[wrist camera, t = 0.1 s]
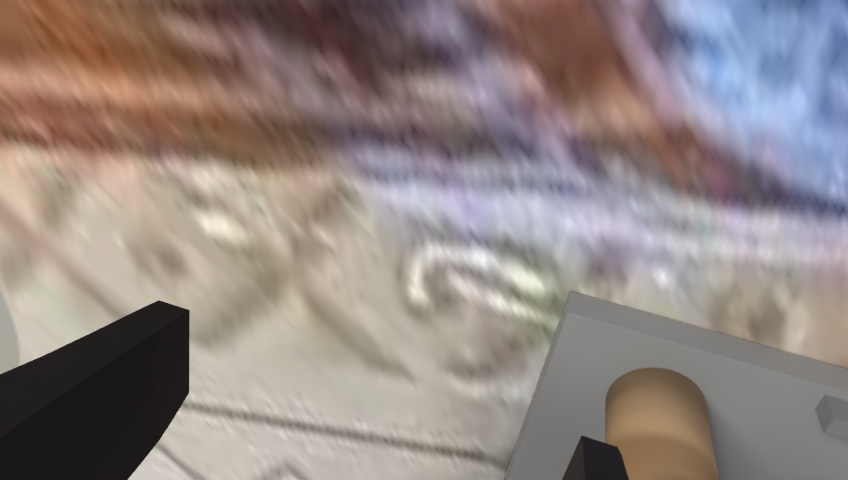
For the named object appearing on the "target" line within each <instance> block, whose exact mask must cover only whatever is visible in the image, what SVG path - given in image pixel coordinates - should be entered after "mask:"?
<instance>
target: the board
mask: <svg viewBox="0 0 848 480" xmlns="http://www.w3.org/2000/svg"><path fill="white" fill-rule="evenodd" d="M651 367H654V368H665V369H669V370H673V371H676V372H678V373H681V374H683V375H685V376H686V377H688V378H689V379H691V380H692V381H693V382H694V383H695V384H696V385H697V386H698V387H699V388H700V390H701V391H702V393H703V395H704V398H705V402H706V408H707V414H708V419H709V425H710V431H711V437H712V442H713V448H714V454H715V459H716V465H717V471H718V477H719V480H848V369H845V368H842V367H838V366H835V365H831V364H828V363H824V362H821V361H817V360H814V359H810V358H806V357H803V356H799V355H796V354H792V353H789V352H785V351H782V350H778V349H775V348H771V347H767V346H764V345H760V344H757V343H753V342H750V341H746V340H743V339H739V338H736V337H732V336H729V335H725V334H721V333H718V332H714V331H711V330H707V329H704V328H700V327H697V326H693V325H690V324H686V323H682V322H679V321H675V320H672V319H668V318H665V317H661V316H658V315H654V314H651V313H647V312H644V311H640V310H636V309H633V308H629V307H626V306H622V305H619V304H615V303H612V302H608V301H605V300H601V299H597V298H594V297H590V296H587V295H583V294H580V293H576V292H573V291H570V293H569V296H568V299H567V301H566V304H565V307H564V310H563V313H562V316H561V318H560V321H559V324H558V327H557V330H556V333H555V335H554V338H553V341H552V344H551V347H550V350H549V353H548V355H547V358H546V361H545V364H544V367H543V370H542V372H541V375H540V378H539V381H538V384H537V387H536V389H535V392H534V395H533V398H532V401H531V404H530V406H529V409H528V412H527V415H526V418H525V421H524V423H523V426H522V429H521V432H520V435H519V438H518V440H517V443H516V446H515V449H514V452H513V455H512V457H511V460H510V463H509V466H508V469H507V472H506V474H505V477H504V480H562V478H563V476H564V474H565V472H566V469H567V467H568V465H569V463H570V460H571V458H572V456H573V454H574V451H575V449H576V447H577V444H578V442H579V440H580V438H581V435H582V436H585V437H588V438H591V439H594V440H597V441H601V442H604V443H605V400H606V395H607V392H608V390H609V388H610V386H611V385H612V384H613V382H615V381H616V380H617V379H618V378H619V377H621V376H622V375H624V374H626V373H628V372H630V371H633V370H637V369H641V368H651Z"/></svg>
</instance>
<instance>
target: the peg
mask: <svg viewBox="0 0 848 480" xmlns="http://www.w3.org/2000/svg"><path fill="white" fill-rule="evenodd" d="M605 443H607V444H610V445H613V446H616V447H618V449H619V451H620V452H621V454H622V458H623V461H624V464H625V468H626V471H627V474H628V477H629V480H719V477H718V471H717V465H716V459H715V454H714V448H713V442H712V437H711V431H710V425H709V419H708V414H707V408H706V402H705V398H704V395H703V393H702V391H701V390H700V388H699V387H698V386H697V385H696V384H695V383H694V382H693V381H692V380H691V379H689V378H688V377H686V376H685V375H683V374H681V373H678V372H676V371H673V370H669V369H665V368H654V367H651V368H641V369H637V370H633V371H630V372H628V373H626V374H624V375H622V376H621V377H619V378H618V379H617V380H616V381H615V382H613V384H612V385H611V386H610V388H609V390H608V392H607V395H606V400H605Z"/></svg>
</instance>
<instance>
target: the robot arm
mask: <svg viewBox="0 0 848 480" xmlns="http://www.w3.org/2000/svg"><path fill="white" fill-rule="evenodd" d="M188 393H189V310H187V309H184V308H181V307H178V306H174V305H171V304H168V303H165V302H162V301H157V302H155V303H152V304H150V305H148V306H146V307H144V308H142V309H139V310H137V311H135V312H133V313H131V314H129V315H127V316H125V317H123V318H121V319H119V320H117V321H115V322H113V323H111V324H109V325H107V326H105V327H103V328H101V329H99V330H97V331H95V332H93V333H91V334H88V335H86V336H84V337H82V338H80V339H78V340H76V341H74V342H72V343H70V344H67V345H65V346H63V347H61V348H59V349H57V350H55V351H53V352H51V353H48V354H46V355H44V356H42V357H40V358H37V359H35V360H33V361H30V362H28V363H26V364H23V365H21V366H19V367H17V368H14V369H12V370H10V371H7V372H5V373H3V374H0V480H128V478H129V477H130V476H131V475H132V473H133V472H134V471H135V470H136V468H137V467H138V466H139V465H140V464H141V462H142V461H143V460H144V459H145V457H146V456H147V455H148V454H149V452H150V451H151V450H152V449H153V447H154V446H155V445H156V444H157V442H158V441H159V440H160V438H161V437H162V435H163V433H164V432H165V430H166V429H167V427H168V426H169V424H170V423H171V421H172V420H173V418H174V416H175V415H176V413H177V411H178V410H179V408H180V407H181V405H182V403H183V402H184V400H185V398H186V397H187V395H188ZM562 480H629V477H628V474H627V471H626V468H625V464H624V461H623V458H622V454H621V452H620V451H619V449H618V447H616V446H613V445H610V444H607V443H604V442H601V441H597V440H594V439H591V438H588V437H585V436H582V435H581V438H580V440H579V442H578V444H577V447H576V449H575V451H574V454H573V456H572V458H571V460H570V463H569V465H568V467H567V469H566V472H565V474H564V476H563V478H562Z"/></svg>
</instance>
